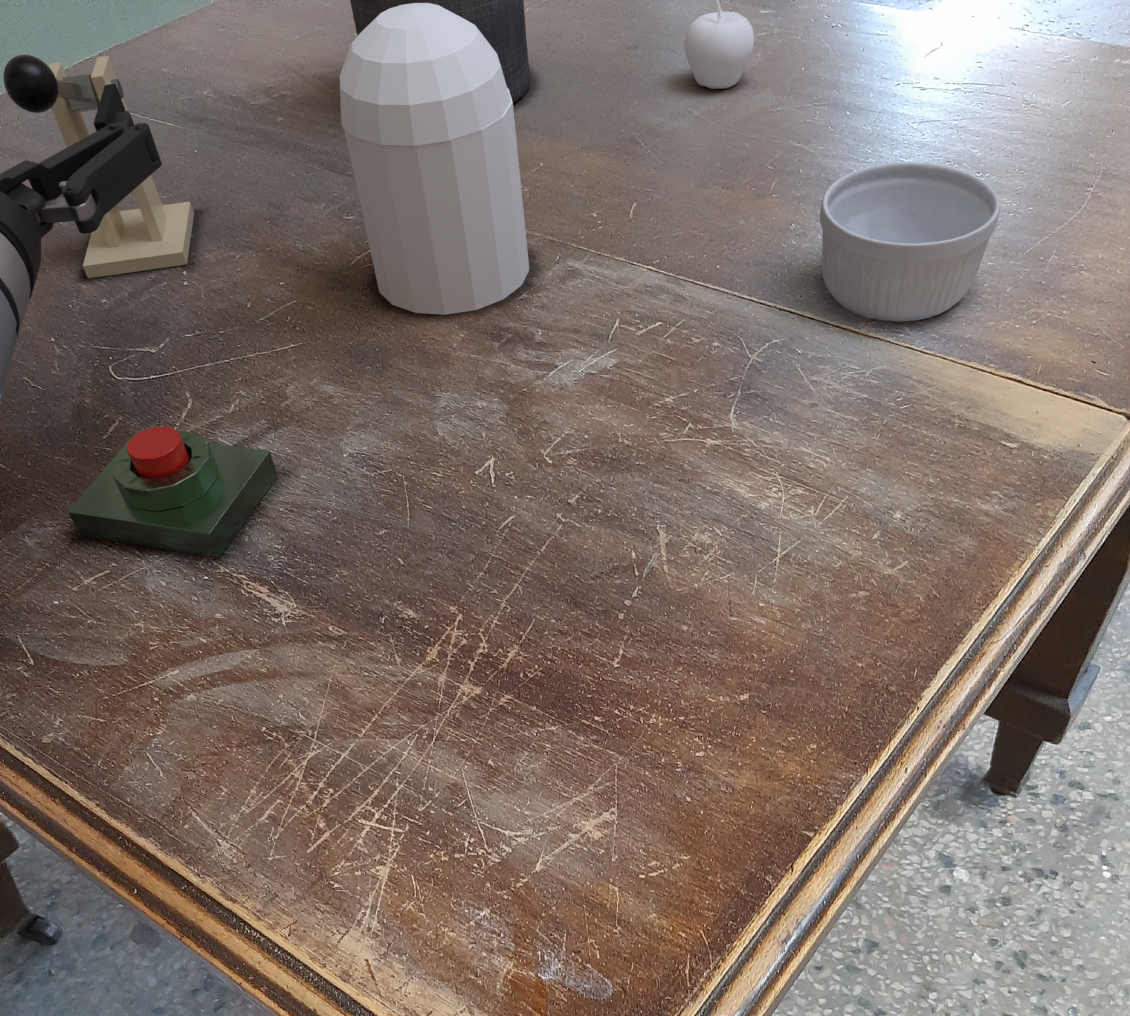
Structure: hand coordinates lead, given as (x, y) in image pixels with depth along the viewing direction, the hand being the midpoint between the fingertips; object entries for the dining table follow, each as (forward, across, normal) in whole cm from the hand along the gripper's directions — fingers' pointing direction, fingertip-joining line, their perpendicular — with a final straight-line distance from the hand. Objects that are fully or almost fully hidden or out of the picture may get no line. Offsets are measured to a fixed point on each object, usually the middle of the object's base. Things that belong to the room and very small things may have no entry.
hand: (21, 118), depth 76 cm
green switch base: (-22, +6, -18) cm, 29 cm away
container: (+5, +28, -18) cm, 34 cm away
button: (-22, +7, -14) cm, 27 cm away
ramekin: (-8, +63, -18) cm, 66 cm away
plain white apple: (+36, +59, -18) cm, 72 cm away
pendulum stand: (+18, 0, -18) cm, 26 cm away
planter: (+44, +31, -18) cm, 57 cm away
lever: (+11, 0, -4) cm, 12 cm away
